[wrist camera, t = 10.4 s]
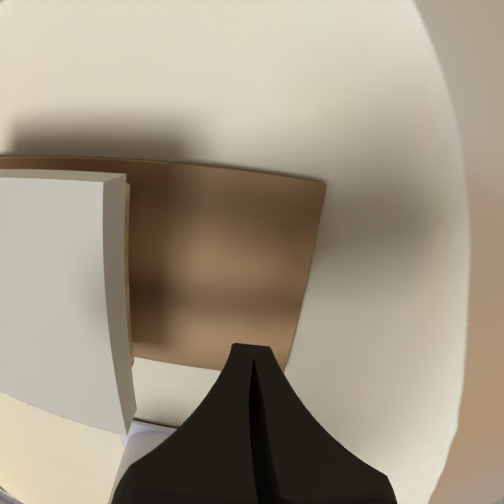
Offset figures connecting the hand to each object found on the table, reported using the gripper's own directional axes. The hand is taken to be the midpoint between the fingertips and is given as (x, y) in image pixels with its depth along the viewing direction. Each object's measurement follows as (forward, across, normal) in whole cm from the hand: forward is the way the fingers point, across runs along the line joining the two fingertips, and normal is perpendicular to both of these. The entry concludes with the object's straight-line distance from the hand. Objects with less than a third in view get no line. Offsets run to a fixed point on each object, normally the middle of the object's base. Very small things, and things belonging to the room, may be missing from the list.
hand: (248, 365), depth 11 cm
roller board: (+7, +14, 0) cm, 16 cm away
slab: (+2, +11, 0) cm, 11 cm away
